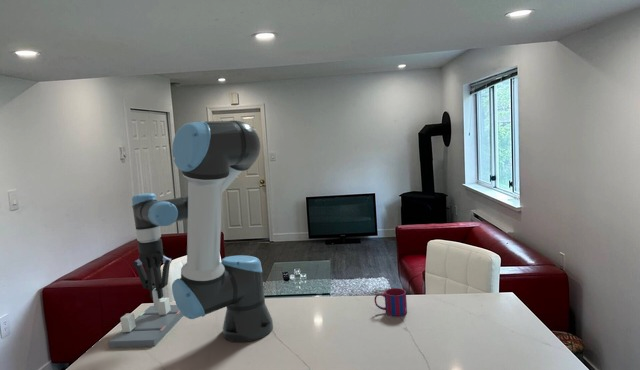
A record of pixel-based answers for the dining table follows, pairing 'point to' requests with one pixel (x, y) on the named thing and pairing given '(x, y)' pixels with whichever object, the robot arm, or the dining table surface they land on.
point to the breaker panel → (147, 328)
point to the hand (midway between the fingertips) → (158, 307)
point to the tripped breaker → (163, 306)
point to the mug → (394, 302)
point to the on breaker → (128, 322)
